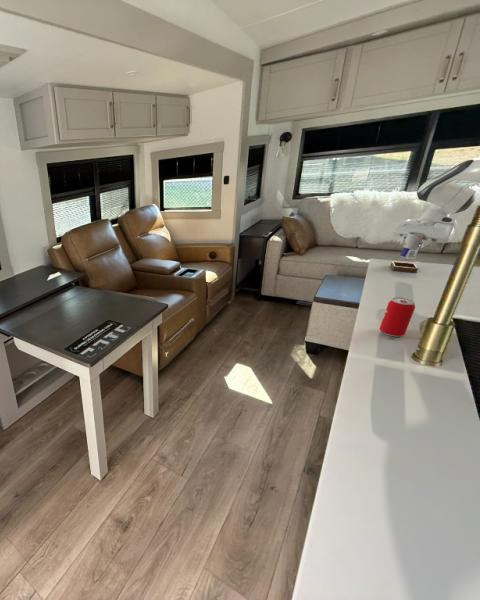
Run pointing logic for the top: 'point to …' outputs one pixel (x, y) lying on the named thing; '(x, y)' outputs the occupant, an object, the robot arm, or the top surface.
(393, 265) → the serving tray
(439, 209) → the robot arm
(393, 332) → the beverage can
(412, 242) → the energy drink
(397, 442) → the top surface
